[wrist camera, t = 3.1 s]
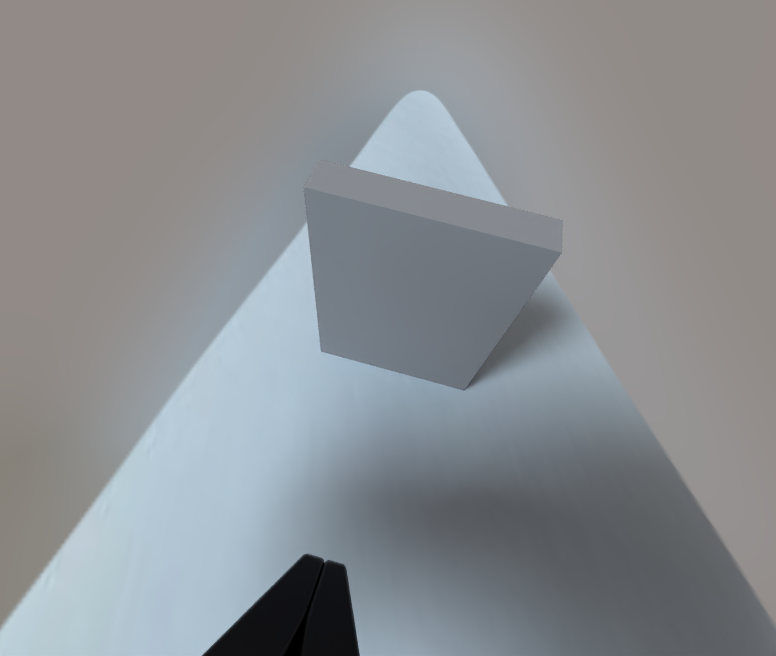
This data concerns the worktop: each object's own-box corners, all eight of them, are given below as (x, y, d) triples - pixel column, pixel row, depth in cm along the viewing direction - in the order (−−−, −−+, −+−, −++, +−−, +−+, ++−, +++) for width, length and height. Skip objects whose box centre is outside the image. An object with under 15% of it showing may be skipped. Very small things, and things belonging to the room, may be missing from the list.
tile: (464, 390, 21) (562, 252, 12) (321, 351, 21) (303, 186, 12) (468, 365, 22) (562, 217, 12) (330, 328, 22) (320, 156, 13)
